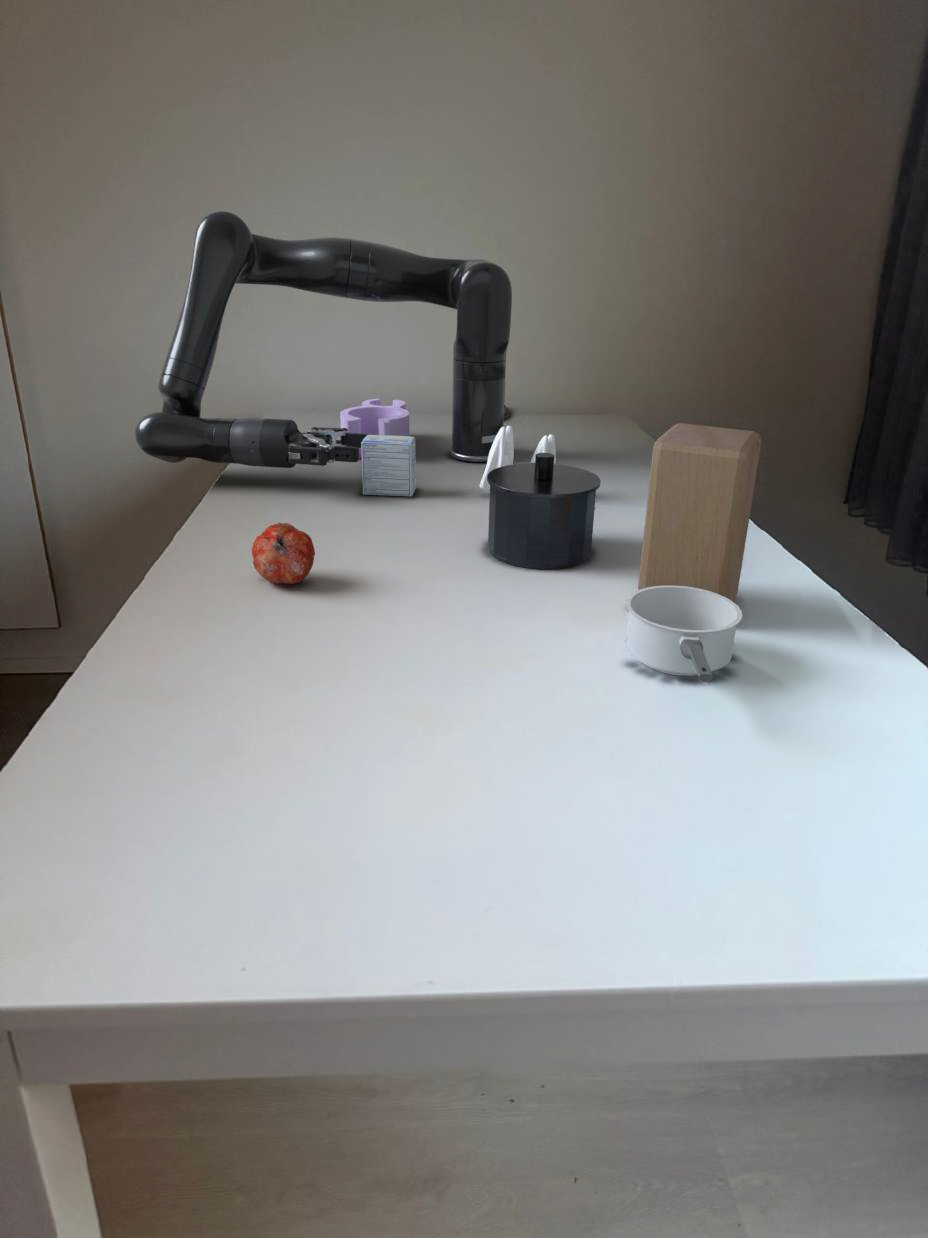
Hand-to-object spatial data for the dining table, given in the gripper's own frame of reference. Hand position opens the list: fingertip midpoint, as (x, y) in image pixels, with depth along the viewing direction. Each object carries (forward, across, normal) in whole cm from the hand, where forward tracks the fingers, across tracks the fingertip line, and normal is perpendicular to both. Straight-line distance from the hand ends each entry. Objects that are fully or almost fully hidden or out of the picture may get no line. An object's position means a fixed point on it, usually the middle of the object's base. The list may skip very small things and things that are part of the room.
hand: (365, 447), depth 141 cm
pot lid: (+29, -22, -2) cm, 36 cm away
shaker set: (+24, +2, +7) cm, 25 cm away
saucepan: (+45, -55, +7) cm, 71 cm away
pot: (+29, -22, +7) cm, 37 cm away
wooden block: (+47, -37, +7) cm, 60 cm away
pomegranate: (-1, -38, +7) cm, 39 cm away
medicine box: (+4, 0, +7) cm, 8 cm away
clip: (-4, +28, +7) cm, 29 cm away
